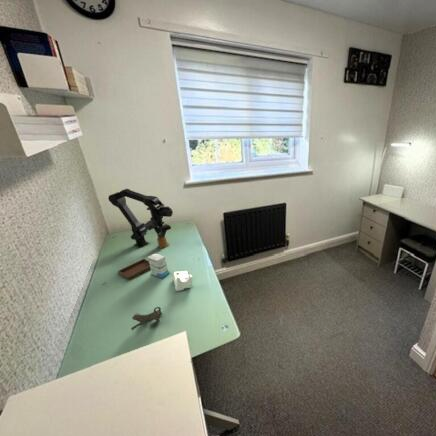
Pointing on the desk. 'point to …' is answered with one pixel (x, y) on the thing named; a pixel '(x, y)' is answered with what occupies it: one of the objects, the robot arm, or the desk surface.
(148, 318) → the dog figurine
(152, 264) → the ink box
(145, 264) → the tray
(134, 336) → the desk surface
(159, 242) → the bottle
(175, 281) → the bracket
